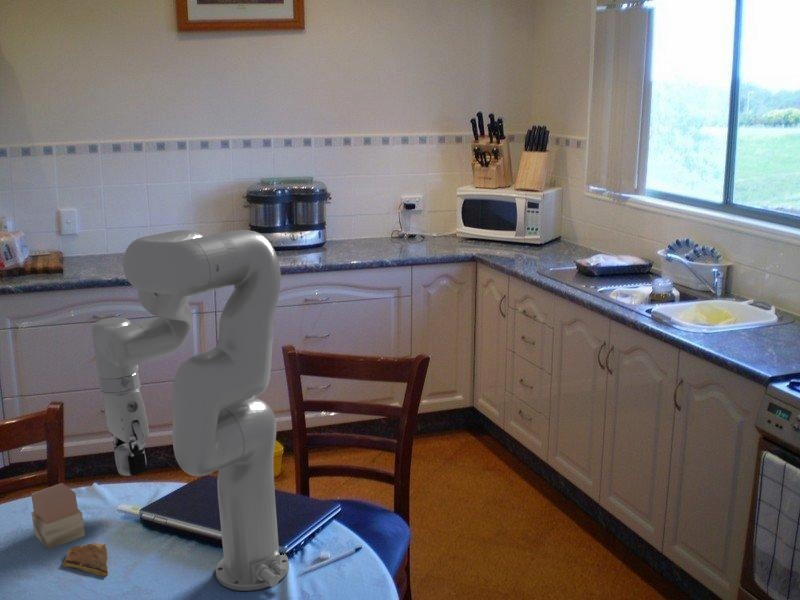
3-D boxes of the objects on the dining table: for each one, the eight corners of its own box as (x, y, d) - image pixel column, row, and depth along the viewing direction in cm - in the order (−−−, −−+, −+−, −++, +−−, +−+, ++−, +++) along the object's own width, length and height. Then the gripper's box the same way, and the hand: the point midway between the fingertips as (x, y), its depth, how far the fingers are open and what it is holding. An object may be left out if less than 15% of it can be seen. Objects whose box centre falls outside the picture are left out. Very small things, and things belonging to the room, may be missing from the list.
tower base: (85, 536, 166) (81, 512, 165) (48, 549, 162) (44, 525, 160) (71, 522, 171) (67, 499, 170) (34, 535, 167) (31, 512, 165)
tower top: (78, 512, 165) (75, 492, 164) (46, 523, 161) (43, 504, 160) (65, 501, 169) (62, 482, 168) (33, 512, 165) (31, 493, 164)
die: (147, 471, 172) (144, 448, 171) (121, 478, 170) (118, 454, 168) (141, 463, 176) (138, 439, 175) (116, 469, 174) (113, 446, 173)
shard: (108, 579, 152) (107, 570, 152) (62, 589, 150) (60, 579, 149) (107, 548, 162) (106, 540, 162) (64, 556, 160) (62, 548, 159)
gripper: (157, 386, 164) (168, 475, 169) (120, 367, 177) (131, 450, 181) (118, 397, 160) (131, 488, 164) (83, 377, 173) (96, 461, 177)
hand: (131, 467), depth 173 cm, fingers closed on die, 5 cm apart
